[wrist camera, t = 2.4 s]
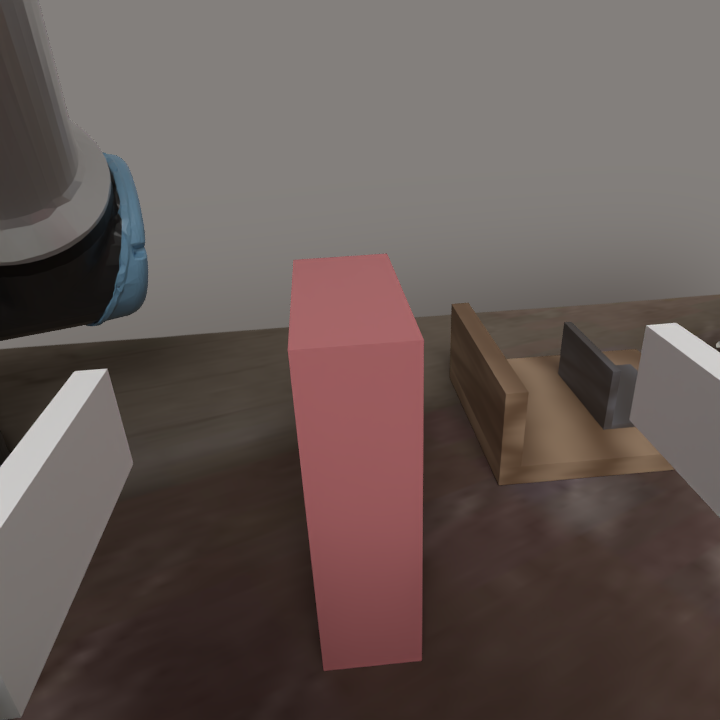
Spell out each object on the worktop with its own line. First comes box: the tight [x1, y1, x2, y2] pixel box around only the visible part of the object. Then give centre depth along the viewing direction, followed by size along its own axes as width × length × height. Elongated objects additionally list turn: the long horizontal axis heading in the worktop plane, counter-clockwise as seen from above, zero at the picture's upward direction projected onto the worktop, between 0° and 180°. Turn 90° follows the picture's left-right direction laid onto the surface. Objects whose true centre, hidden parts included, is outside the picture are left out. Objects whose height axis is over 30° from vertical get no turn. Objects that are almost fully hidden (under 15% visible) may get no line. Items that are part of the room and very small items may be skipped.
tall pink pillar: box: [288, 254, 424, 671], centre depth 30 cm, size 5×11×18 cm, turn 5°
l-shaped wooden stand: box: [450, 303, 675, 485], centre depth 47 cm, size 18×16×8 cm
